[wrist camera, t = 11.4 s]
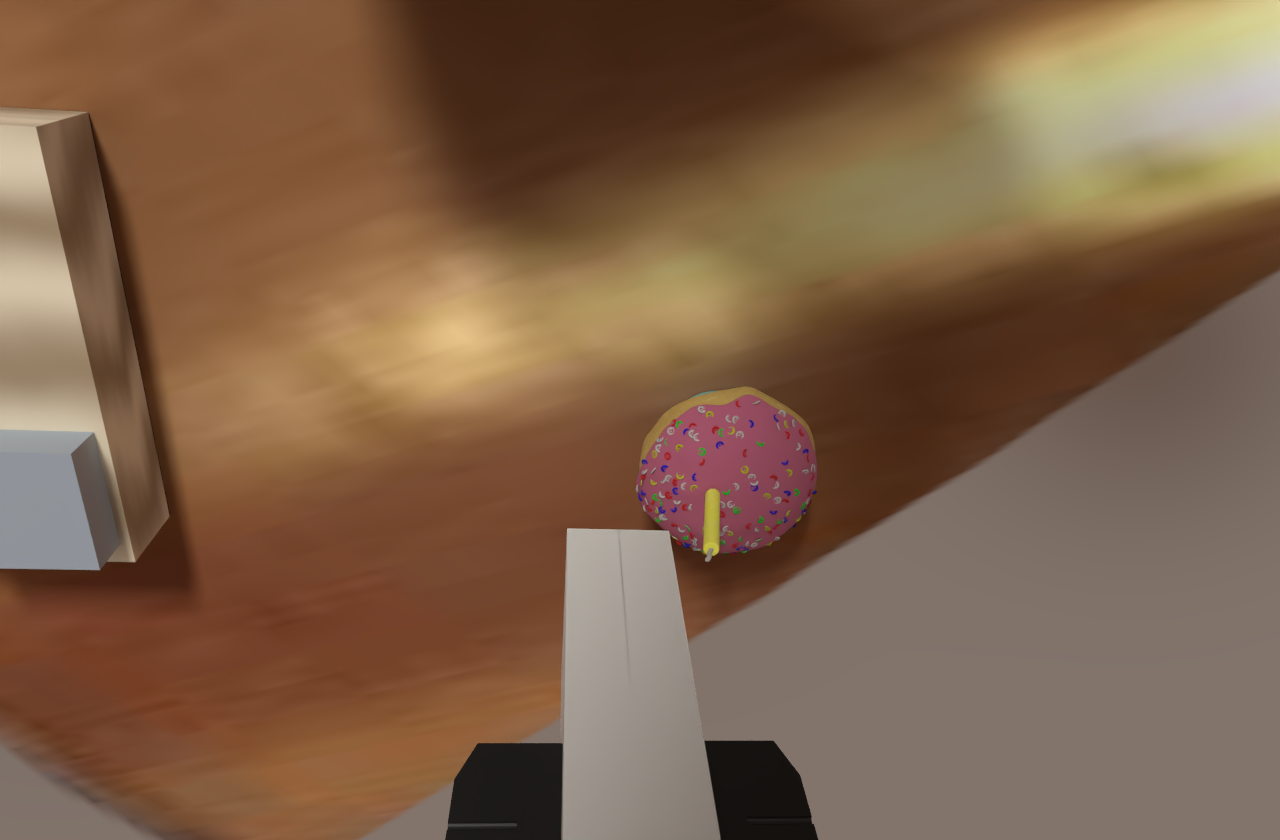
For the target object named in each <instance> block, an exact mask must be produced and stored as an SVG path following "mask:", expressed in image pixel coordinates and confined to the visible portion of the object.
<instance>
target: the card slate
mask: <svg viewBox="0 0 1280 840" xmlns="http://www.w3.org/2000/svg"><path fill="white" fill-rule="evenodd" d="M119 546H120V541H119V537H118V533H117V528H116V524H115V520H114V516H113V511H112V507H111V503H110V499H109V494H108V490H107V486H106V482H105V477H104V473H103V469H102V465H101V460H100V456H99V452H98V448H97V443H96V439H95V435H94V432H74V431H38V430H3V429H0V569H64V570H100V569H101V568H102V567H103V566H104V564H105V563H106V562H107V561H108V559H109V558H110V557H111V556H112V554H113V553H114V552H115V551H116V549H117V548H118V547H119Z"/></svg>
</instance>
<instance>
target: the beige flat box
mask: <svg viewBox="0 0 1280 840" xmlns="http://www.w3.org/2000/svg"><path fill="white" fill-rule="evenodd" d="M0 429H3V430H38V431H74V432H94V435H95V439H96V443H97V448H98V452H99V456H100V460H101V465H102V469H103V473H104V477H105V482H106V486H107V490H108V494H109V499H110V503H111V507H112V511H113V516H114V520H115V524H116V528H117V533H118V537H119V541H120V546H119V547H118V548H117V549H116V551H115V552H114V553H113V554H112V556H111V557H110V558H109V559H108V561H107V562H136V561H137V559H138V558H139V557H140V555H141V554H142V553H143V551H144V550H145V549H146V547H147V546H148V545H149V543H150V542H151V541H152V539H153V538H154V537H155V535H156V534H157V533H158V531H159V530H160V529H161V527H162V526H163V525H164V523H165V522H166V521H167V519H168V518H169V517H170V516H169V511H168V506H167V501H166V496H165V491H164V486H163V481H162V476H161V471H160V466H159V461H158V456H157V451H156V447H155V442H154V437H153V432H152V427H151V422H150V417H149V412H148V407H147V402H146V397H145V392H144V387H143V382H142V377H141V372H140V367H139V362H138V357H137V352H136V347H135V342H134V338H133V333H132V328H131V323H130V318H129V313H128V308H127V303H126V298H125V293H124V288H123V283H122V278H121V273H120V268H119V263H118V258H117V253H116V248H115V243H114V238H113V234H112V229H111V224H110V219H109V214H108V209H107V204H106V199H105V194H104V189H103V184H102V179H101V174H100V169H99V164H98V159H97V154H96V149H95V144H94V139H93V134H92V129H91V125H90V120H89V115H88V112H76V111H59V110H42V109H25V108H8V107H0Z"/></svg>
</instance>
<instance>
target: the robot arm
mask: <svg viewBox="0 0 1280 840" xmlns="http://www.w3.org/2000/svg"><path fill="white" fill-rule="evenodd" d="M560 735H561V736H560V743H478V744H477V745H476V747H475V749H474V750H473V752H472V753H471V755H470V756H469V758H468V759H467V761H466V762H465V764H464V765H463V767H462V769H461V770H460V772H459V773H458V775H457V776H456V778H455V779H454V786H453V792H452V800H451V806H450V813H449V819H448V830H447V833H446V839H445V840H818V838H817V834H816V831H815V827H814V824H812V821H811V812H810V809H809V805H808V802H807V798H806V795H805V791H804V788H803V784H802V780H801V777H800V775H799V773H798V772H797V771H796V769H795V768H794V767H793V766H792V765H791V763H790V762H789V761H788V759H787V758H786V757H785V755H784V754H783V753H782V751H781V750H780V749H779V747H778V746H777V745H776V743H775V742H774V741H704V736H703V731H702V725H701V719H700V713H699V707H698V701H697V696H696V689H695V683H694V677H693V672H692V665H691V659H690V654H689V647H688V641H687V635H686V629H685V623H684V617H683V611H682V605H681V599H680V594H679V588H678V582H677V576H676V570H675V564H674V558H673V552H672V546H671V540H670V534H669V531H659V530H612V529H567V547H566V573H565V599H564V625H563V651H562V683H561V733H560Z"/></svg>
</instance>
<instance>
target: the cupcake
mask: <svg viewBox="0 0 1280 840" xmlns="http://www.w3.org/2000/svg"><path fill="white" fill-rule="evenodd" d="M817 472H818V466H817V459H816V453H815V444H814V439H813V436H812V433H811V430H810V428H809V426H808V425H807V423H806V422H805V421H804V420H803V419H802V418H801V417H800V416H799V415H798V414H796V413H795V412H794V411H792V410H791V409H790V408H788V407H787V406H785V405H784V404H782V403H780V402H779V401H777V400H775V399H774V398H772V397H770V396H768V395H766V394H764V393H762V392H760V391H758V390H757V389H754V388H752V387H746V386H745V387H738V388H733V389H727V390H721V391H709V392H704V393H700V394H698V395H695V396H693V397H691V398H690V399H687V400H685V401H683V402H681V403H679V404H677V405H675V406H674V407H672V408H671V409H669V410H668V411H667V412H665V413H664V414H663V415H662V416H661V418H660V419H659V420H658V422H657V423H656V425H655V426H654V427H653V429H652V430H651V431H650V432H649V433H648V435H647V436H646V438H645V440H644V443H643V447H642V452H641V457H640V464H639V473H638V476H637V480H636V492H637V494H638V497H639V500H640V503H641V505H642V507H643V509H644V511H645V512H646V513H647V514H648V515H649V516H650V517H651V518H652V519H653V520H654V521H655V522H656V523H657V524H658V525H659V526H660V527H661V528H662V529H664V530H665V531H669V534H670V536H672V537H673V538H674V539H676V542H677V544H678V545H681V544H683V546H684V547H686V548H689V547H691V548H692V549H693V550H694V551H696V550H697V551H701V552H702V553H703V554H704V555H706V554H707V557H706V559H705V561H706V562H709V561H710V560H711V558H712V556H714V555H716V554H717V553H724V554H729V553H731V554H734V555H736V554H735V553H737V552H742V553H745V552H748V551H749V550H753V549H758V548H761V547H764V546H769V545H771V544H773V542H774V541H775V540H779V539H780V536H781V535H783V534H784V533H785V532H786V531H788V530H789V529H790V528H791V527H792V526H793V527H795V525H796V522H798V521H799V520H800V519H801V516H802V514H805V513H806V508H807V507H808V506H809V505H810V502H811V497H812V495H813V494H815V493H816V492H817V491H814V490H815V486H816V479H817ZM777 538H778V539H777ZM678 542H679V543H678ZM685 545H686V546H685ZM743 551H744V552H743ZM733 552H734V553H733Z"/></svg>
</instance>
